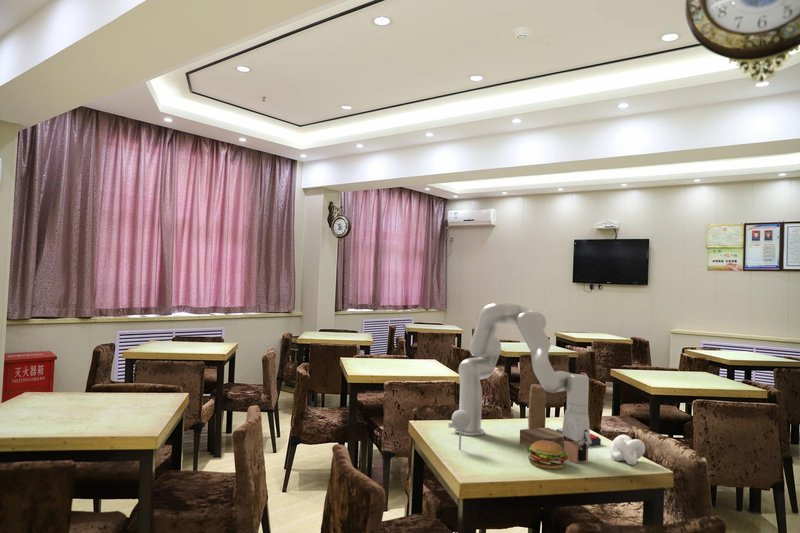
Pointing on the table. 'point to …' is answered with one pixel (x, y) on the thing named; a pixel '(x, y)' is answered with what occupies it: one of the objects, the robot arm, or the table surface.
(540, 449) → the food
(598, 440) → the calculator
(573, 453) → the terracotta cube
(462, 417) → the lollipop
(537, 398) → the brown rock
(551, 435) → the walnut block
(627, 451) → the white knot
